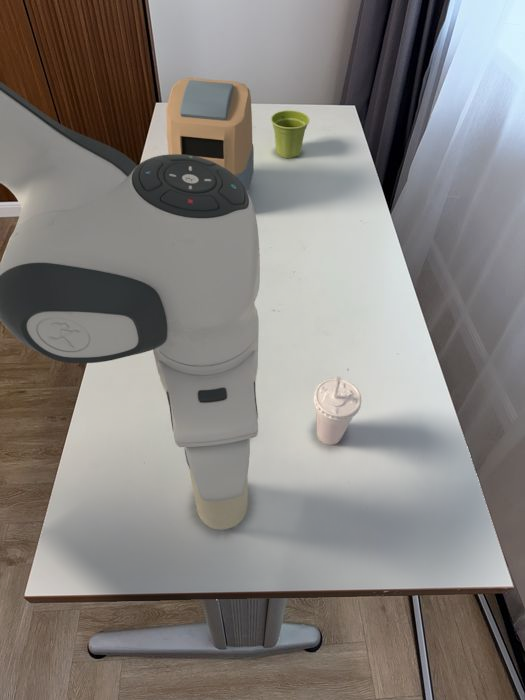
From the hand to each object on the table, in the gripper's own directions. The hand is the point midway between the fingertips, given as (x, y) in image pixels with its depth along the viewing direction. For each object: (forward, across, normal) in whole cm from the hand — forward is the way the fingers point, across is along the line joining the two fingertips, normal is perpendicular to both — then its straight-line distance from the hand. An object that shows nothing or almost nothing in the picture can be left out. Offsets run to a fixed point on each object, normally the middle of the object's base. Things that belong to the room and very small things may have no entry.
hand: (214, 432), depth 53 cm
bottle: (+19, 0, 0) cm, 19 cm away
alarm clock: (+19, -74, +6) cm, 77 cm away
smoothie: (+19, -8, +17) cm, 27 cm away
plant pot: (+19, -90, +27) cm, 96 cm away
